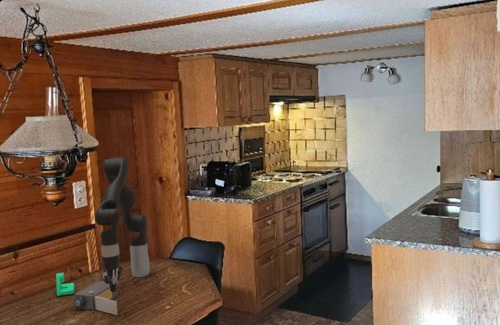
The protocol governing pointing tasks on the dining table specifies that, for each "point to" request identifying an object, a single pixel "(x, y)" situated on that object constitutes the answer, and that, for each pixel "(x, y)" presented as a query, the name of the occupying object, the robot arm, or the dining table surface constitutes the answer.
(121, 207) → the robot arm
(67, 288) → the camera mount
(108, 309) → the side door
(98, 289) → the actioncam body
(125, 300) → the dining table surface
